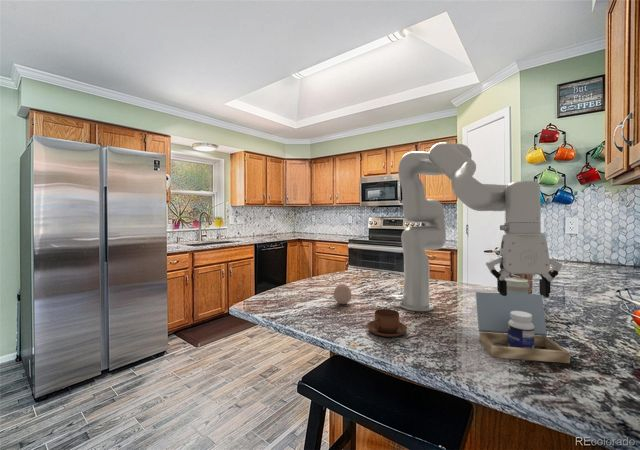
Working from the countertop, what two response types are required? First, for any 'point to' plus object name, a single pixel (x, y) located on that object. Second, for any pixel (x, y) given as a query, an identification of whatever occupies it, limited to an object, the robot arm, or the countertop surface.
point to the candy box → (524, 276)
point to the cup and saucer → (387, 323)
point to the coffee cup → (517, 286)
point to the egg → (342, 294)
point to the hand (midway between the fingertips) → (523, 295)
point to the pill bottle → (520, 330)
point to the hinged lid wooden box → (551, 355)
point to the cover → (508, 311)
